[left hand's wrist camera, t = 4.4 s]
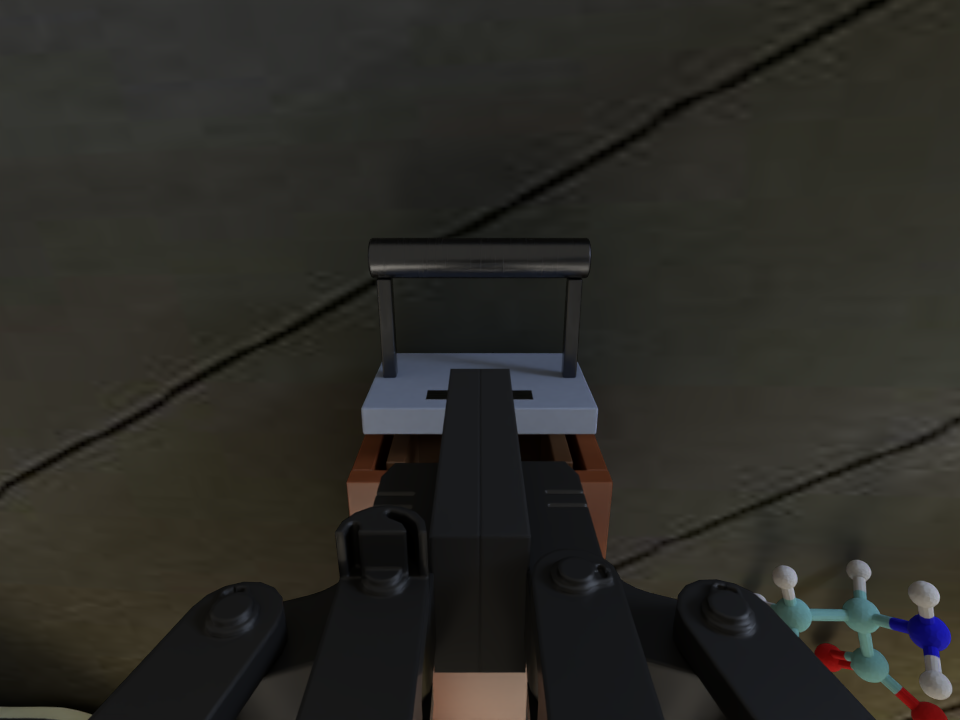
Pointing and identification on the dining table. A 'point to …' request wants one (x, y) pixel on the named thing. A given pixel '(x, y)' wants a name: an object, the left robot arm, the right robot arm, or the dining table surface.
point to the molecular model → (867, 620)
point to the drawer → (425, 376)
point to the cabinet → (486, 696)
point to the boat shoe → (41, 713)
